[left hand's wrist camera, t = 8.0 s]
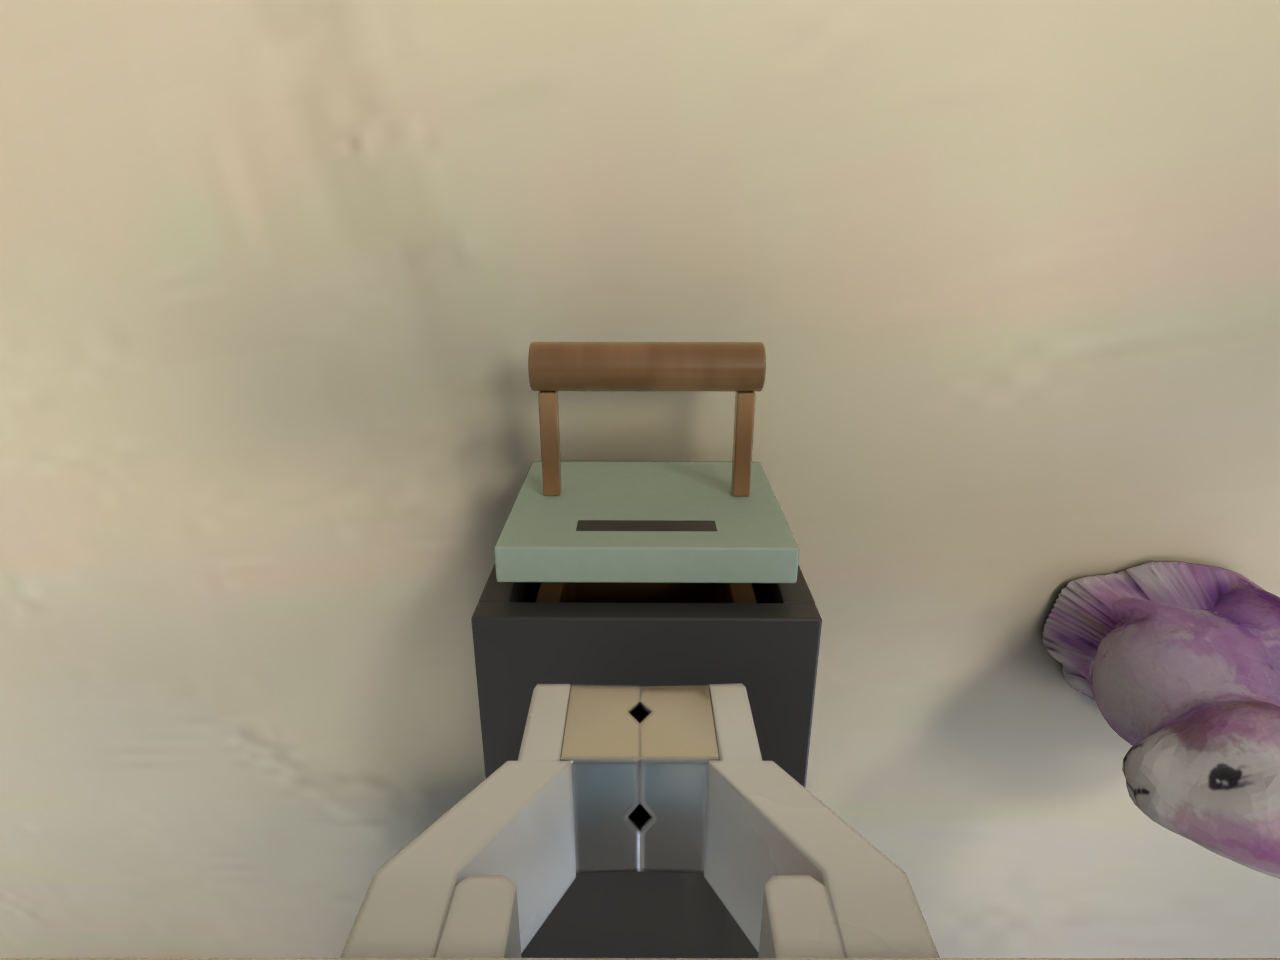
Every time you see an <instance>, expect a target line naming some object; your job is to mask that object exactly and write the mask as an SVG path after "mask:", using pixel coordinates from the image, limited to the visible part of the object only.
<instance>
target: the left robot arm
mask: <svg viewBox="0 0 1280 960" xmlns="http://www.w3.org/2000/svg"><path fill="white" fill-rule="evenodd" d="M638 871H640V872H675V873H704V877H705V879H706V880H707V881H708V883H709V884H710V886H711V887H712V888H713V890H714V891H715V893H716V894H717V895H718V897H719V898H720V900H721V901H722V902H723V904H724V905H725V907H726V908H727V909H728V911H729V912H730V914H731V915H732V917H733V918H734V919H735V921H736V922H737V924H738V925H739V926H740V928H741V929H742V931H743V932H744V933H745V935H746V936H747V938H748V939H749V940H750V942H751V943H752V945H753V946H754V947H755V949H756V950H757V952H758V953H759V957H758V958H522V957H521V953H522V952H523V951H524V949H525V948H526V946H527V945H528V944H529V942H530V941H531V939H532V938H533V937H534V935H535V934H536V932H537V931H538V930H539V928H540V927H541V926H542V924H543V923H544V921H545V920H546V919H547V917H548V916H549V914H550V913H551V912H552V910H553V909H554V907H555V906H556V905H557V903H558V902H559V900H560V899H561V898H562V896H563V895H564V893H565V892H566V891H567V889H568V888H569V886H570V885H571V884H572V882H573V881H574V879H575V878H576V873H604V872H638ZM0 960H1280V958H940V957H939V955H938V952H937V950H936V947H935V945H934V943H933V940H932V938H931V935H930V933H929V930H928V928H927V925H926V923H925V920H924V918H923V915H922V913H921V910H920V908H919V905H918V903H917V900H916V898H915V895H914V893H913V890H912V888H911V885H910V883H909V880H908V878H907V875H906V873H905V872H904V871H902V870H901V869H900V868H899V867H898V866H897V865H895V864H894V863H893V862H892V861H891V860H889V859H888V858H887V857H886V856H885V855H884V854H882V853H881V852H880V851H879V850H878V849H876V848H875V847H874V846H873V845H872V844H871V843H869V842H868V841H867V840H866V839H865V838H863V837H862V836H861V835H860V834H859V833H858V832H856V831H855V830H854V829H853V828H852V827H850V826H849V825H848V824H847V823H846V822H844V821H843V820H842V819H841V818H840V817H839V816H837V815H836V814H835V813H834V812H833V811H831V810H830V809H829V808H828V807H827V806H826V805H824V804H823V803H822V802H821V801H820V800H818V799H817V798H816V797H815V796H814V795H813V794H811V793H810V792H809V791H808V790H807V789H805V788H804V787H803V786H802V785H801V784H800V783H798V782H797V781H796V780H795V779H794V778H792V777H791V776H790V775H789V774H788V773H787V772H785V771H784V770H783V769H782V768H781V767H779V766H778V765H777V764H776V763H775V762H774V761H762V757H761V752H760V748H759V744H758V739H757V735H756V731H755V726H754V722H753V717H752V713H751V709H750V704H749V700H748V695H747V691H746V687H745V686H744V685H743V684H742V683H740V684H709V685H707V686H640V685H597V684H572V685H570V684H537V685H536V687H535V688H534V690H533V695H532V699H531V703H530V708H529V712H528V717H527V721H526V726H525V730H524V735H523V739H522V743H521V748H520V752H519V757H518V761H507V762H505V763H504V764H503V765H502V766H501V767H499V768H498V769H497V770H496V771H495V772H493V773H492V774H491V775H490V776H489V777H488V778H486V779H485V780H484V781H483V782H482V783H480V784H479V785H478V786H477V787H476V788H474V789H473V790H472V791H471V792H470V793H468V794H467V795H466V796H465V797H464V798H463V799H461V800H460V801H459V802H458V803H457V804H455V805H454V806H453V807H452V808H451V809H449V810H448V811H447V812H446V813H445V814H444V815H442V816H441V817H440V818H439V819H438V820H436V821H435V822H434V823H433V824H432V825H430V826H429V827H428V828H427V829H426V830H425V831H423V832H422V833H421V834H420V835H419V836H417V837H416V838H415V839H414V840H413V841H411V842H410V843H409V844H408V845H407V846H405V847H404V848H403V849H402V850H401V851H400V852H398V853H397V854H396V855H395V856H394V857H392V858H391V859H390V860H389V861H388V862H386V863H385V864H384V865H383V866H382V867H381V868H379V869H378V870H377V871H376V872H375V874H374V876H373V879H372V881H371V884H370V886H369V888H368V891H367V893H366V896H365V898H364V901H363V903H362V906H361V908H360V911H359V913H358V915H357V918H356V920H355V923H354V925H353V928H352V930H351V933H350V935H349V938H348V940H347V942H346V945H345V947H344V950H343V952H342V955H341V957H340V958H0Z"/></svg>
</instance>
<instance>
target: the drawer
mask: <svg viewBox="0 0 1280 960" xmlns="http://www.w3.org/2000/svg"><path fill="white" fill-rule="evenodd" d="M528 368H529V381H530V386H531V389H532V390H533V391H540V392H539V394H538V397H539V418H540V438H541V459H542V461H534V462H533V463H532V465H531V467H530V469H529V472H528V474H527V476H526V478H525V480H524V483H523V485H522V487H521V489H520V492H519V494H518V496H517V498H516V501H515V503H514V505H513V507H512V509H511V512H510V514H509V516H508V518H507V521H506V523H505V525H504V527H503V530H502V532H501V534H500V536H499V538H498V541H497V543H496V545H495V548H494V553H495V566H496V579H497V582H541V584H540V587H539V591H538V594H537V598H536V601H535V602H571V603H757V600H756V597H755V593H754V590H753V586H752V583H796V581H797V572H798V560H799V547H798V545H797V543H796V541H795V538H794V536H793V534H792V532H791V530H790V528H789V525H788V523H787V521H786V519H785V517H784V514H783V512H782V510H781V508H780V506H779V503H778V501H777V499H776V497H775V495H774V493H773V490H772V488H771V486H770V484H769V482H768V479H767V477H766V475H765V473H764V471H763V468H762V466H761V464H760V462H752V445H753V428H754V410H755V393H754V391H762V389H763V386H764V381H765V370H766V356H765V348H764V345H763V343H761V342H532V343H531V344H530V348H529V359H528ZM558 391H736V395H735V416H734V438H733V459H732V462H599V461H561V457H560V431H559V406H558Z"/></svg>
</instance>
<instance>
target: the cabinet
mask: <svg viewBox="0 0 1280 960" xmlns="http://www.w3.org/2000/svg"><path fill="white" fill-rule="evenodd" d="M540 584H541V582H497V579H496V566H495V564H494V567H493V569H492V571H491V574H490V576H489V578H488V581H487V583H486V585H485V588H484V590H483V593H482V595H481V597H480V600H479V603H478V604H477V607H476V609H475V612H474V614H473V616H472V630H473V641H474V652H475V663H476V674H477V686H478V697H479V708H480V719H481V730H482V741H483V752H484V763H485V774H486V778H488V777H489V776H490V775H491V774H492V773H493V772H495V771H496V770H497V769H498V768H499V767H501V766H502V765H503V764H504V763H505V762H507V761H518V757H519V752H520V748H521V743H522V739H523V735H524V730H525V726H526V721H527V717H528V712H529V708H530V703H531V699H532V695H533V690H534V688H535V687H536V685H537V684H570V685H572V684H597V685H640V686H707V685H709V684H740V683H742V684H743V685H744V686H745V687H746V691H747V695H748V700H749V704H750V709H751V713H752V717H753V722H754V726H755V731H756V735H757V739H758V744H759V748H760V752H761V757H762V761H774V762H775V763H776V764H777V765H778V766H779V767H781V768H782V769H783V770H784V771H785V772H787V773H788V774H789V775H790V776H791V777H792V778H794V779H795V780H796V781H797V782H798V783H800V784H801V785H802V786H803V787H804V788H805V785H806V775H807V765H808V755H809V745H810V734H811V724H812V714H813V704H814V694H815V684H816V674H817V664H818V654H819V644H820V634H821V624H822V619H821V617H820V615H819V612H818V610H817V608H816V605H815V602H814V600H813V597H812V595H811V593H810V590H809V588H808V586H807V583H806V581H805V579H804V576H803V574H802V572H801V570H800V567H799V565H798V572H797V581H796V583H752V586H753V590H754V593H755V597H756V600H757V603H571V602H535V601H536V598H537V594H538V591H539V587H540ZM521 957H522V958H758V957H759V953H758V952H757V950H756V949H755V947H754V946H753V945H752V943H751V942H750V940H749V939H748V938H747V936H746V935H745V933H744V932H743V931H742V929H741V928H740V926H739V925H738V924H737V922H736V921H735V919H734V918H733V917H732V915H731V914H730V912H729V911H728V909H727V908H726V907H725V905H724V904H723V902H722V901H721V900H720V898H719V897H718V895H717V894H716V893H715V891H714V890H713V888H712V887H711V886H710V884H709V883H708V881H707V880H706V879H705V877H704V873H675V872H640V871H638V872H604V873H576V878H575V879H574V881H573V882H572V884H571V885H570V886H569V888H568V889H567V891H566V892H565V893H564V895H563V896H562V898H561V899H560V900H559V902H558V903H557V905H556V906H555V907H554V909H553V910H552V912H551V913H550V914H549V916H548V917H547V919H546V920H545V921H544V923H543V924H542V926H541V927H540V928H539V930H538V931H537V932H536V934H535V935H534V937H533V938H532V939H531V941H530V942H529V944H528V945H527V946H526V948H525V949H524V951H523V952H522V953H521Z"/></svg>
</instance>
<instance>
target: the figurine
mask: <svg viewBox="0 0 1280 960" xmlns="http://www.w3.org/2000/svg"><path fill="white" fill-rule="evenodd" d="M1056 602H1057V603H1055V604H1054V608H1053V609H1052V610H1051V613H1050V614H1049V618H1048V619H1047V620H1046V624H1044V631H1043V632H1042V634H1043V639H1042V641H1043V644H1044V646H1045V648H1046V649H1047V651H1048V653H1049V654H1050V655H1051V656H1052V657H1053V658H1054V659H1056V660H1057V661H1058V662H1060V663H1062V665H1063V669H1062V672H1063V675H1064V678H1065V679H1066V681H1067V682H1068V684H1069V685H1070V687H1073V688H1074V689H1075V690H1077V691H1080V692H1081V693H1083V694H1084V695H1087V696H1089V697H1090V698H1092V699H1094V700H1096V703H1097V705H1098V708H1099V710H1100V711H1101V713H1102V715H1103V717H1104V718H1105V720H1106V721H1107V722H1108V724H1109V725H1110V726H1111V728H1112V729H1113V730H1114V731H1115V732H1116V733H1117V734H1118V735H1119V736H1120V737H1122V738H1123V739H1124V740H1126V741H1127V742H1128V743H1130V744H1131V745H1133V746H1132V747H1131V748H1130V750H1129V751H1128V752H1127V754H1126V756H1125V757H1124V759H1123V772H1124V775H1125V778H1126V785H1127V789H1128V792H1129V795H1130V797H1131V799H1132V800H1133V802H1134V804H1135V805H1136V806H1137V807H1138V808H1139V809H1140V810H1141V811H1142V812H1143V813H1144V814H1146V815H1147V816H1148V817H1149V818H1150V819H1152V820H1153V821H1154V822H1156V823H1158V824H1160V825H1161V826H1163V827H1165V828H1167V829H1168V830H1170V831H1172V832H1175V833H1177V834H1179V835H1181V836H1183V837H1185V838H1188V839H1190V840H1192V841H1194V842H1195V843H1197V844H1199V845H1201V846H1203V847H1204V848H1206V849H1208V850H1210V851H1212V852H1214V853H1216V854H1219V855H1221V856H1223V857H1226V858H1228V859H1231V860H1233V861H1235V862H1237V863H1239V864H1242V865H1244V866H1246V867H1249V868H1251V869H1254V870H1256V871H1259V872H1262V873H1264V874H1267V875H1270V876H1273V877H1276V878H1280V598H1279V597H1277V596H1275V595H1273V594H1271V593H1269V592H1266V591H1265V590H1263V589H1262V588H1261V587H1259V586H1258V585H1256V584H1255V583H1253V582H1252V581H1250V580H1248V579H1247V578H1245V577H1244V576H1242V575H1241V574H1239V573H1236V572H1234V571H1230V570H1227V569H1224V568H1220V567H1214V566H1206V565H1199V564H1192V563H1185V562H1179V561H1167V562H1155V561H1149V562H1147V563H1145V564H1141V565H1138V566H1134V567H1131V568H1129V569H1126V570H1123V571H1120V572H1118V573H1117V574H1115V573H1111V574H1107V575H1097V576H1087V577H1083V578H1079V579H1075V580H1072V581H1071V582H1069V583H1068V585H1067V587H1065V588H1063V589H1062V592H1061V593H1060V594H1059V598H1058V599H1056Z"/></svg>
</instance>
